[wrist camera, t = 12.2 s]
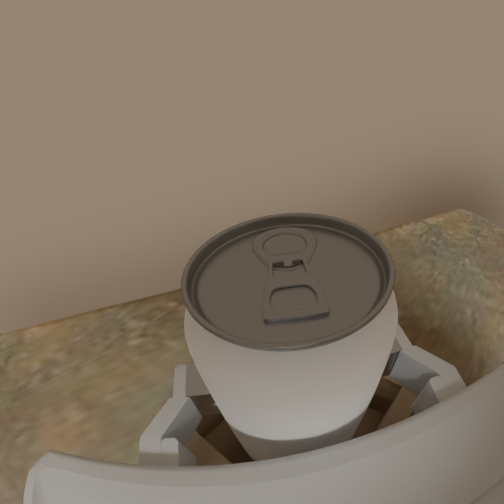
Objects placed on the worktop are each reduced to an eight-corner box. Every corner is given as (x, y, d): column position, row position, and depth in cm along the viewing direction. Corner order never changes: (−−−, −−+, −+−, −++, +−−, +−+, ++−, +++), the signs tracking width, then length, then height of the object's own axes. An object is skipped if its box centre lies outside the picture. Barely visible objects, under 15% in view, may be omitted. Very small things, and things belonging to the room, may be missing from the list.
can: (341, 376, 16) (363, 199, 10) (359, 466, 11) (457, 331, 4) (242, 388, 17) (189, 220, 10) (240, 480, 11) (133, 371, 5)
